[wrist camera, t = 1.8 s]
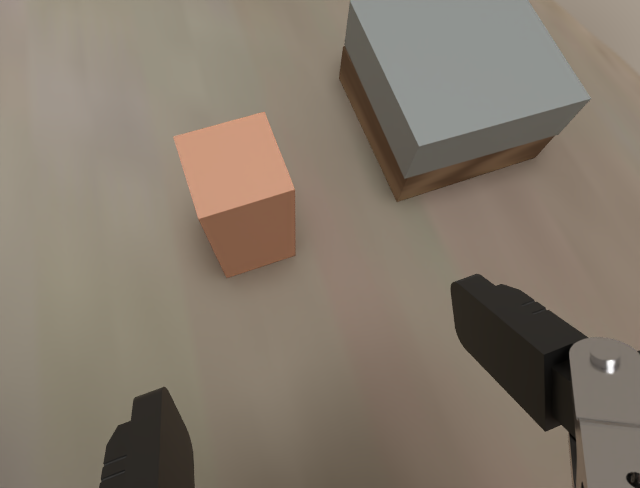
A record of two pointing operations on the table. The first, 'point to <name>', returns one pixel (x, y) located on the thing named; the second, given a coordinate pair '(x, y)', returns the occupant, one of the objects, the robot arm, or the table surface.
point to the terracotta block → (240, 192)
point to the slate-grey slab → (460, 77)
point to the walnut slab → (433, 178)
